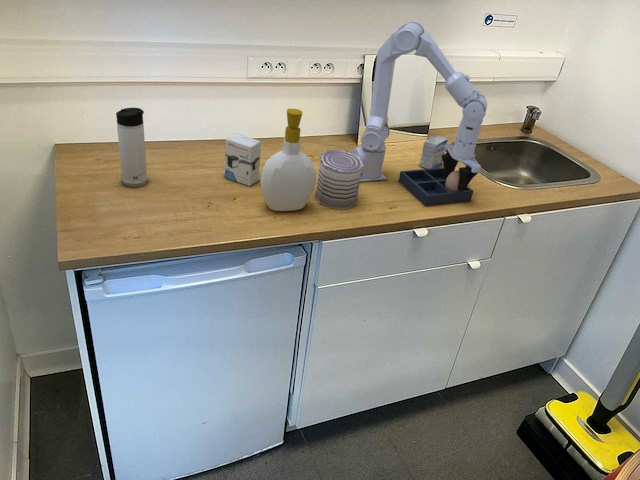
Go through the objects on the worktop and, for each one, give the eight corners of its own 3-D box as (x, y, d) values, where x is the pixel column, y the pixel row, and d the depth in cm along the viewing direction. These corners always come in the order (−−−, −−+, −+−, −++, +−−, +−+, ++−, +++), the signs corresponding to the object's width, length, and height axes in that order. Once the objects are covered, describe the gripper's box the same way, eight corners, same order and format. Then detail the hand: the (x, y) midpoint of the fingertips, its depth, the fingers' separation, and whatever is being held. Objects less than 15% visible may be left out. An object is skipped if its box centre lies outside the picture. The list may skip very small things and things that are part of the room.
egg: (461, 199, 155) (468, 176, 151) (443, 196, 155) (449, 173, 151) (460, 190, 159) (467, 168, 155) (442, 187, 160) (448, 165, 156)
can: (347, 187, 155) (353, 148, 148) (363, 207, 146) (371, 167, 140) (309, 190, 151) (314, 150, 144) (324, 211, 142) (330, 169, 135)
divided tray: (425, 206, 150) (428, 195, 149) (398, 181, 162) (400, 171, 160) (470, 201, 156) (473, 191, 155) (441, 177, 168) (443, 167, 166)
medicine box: (431, 171, 171) (437, 145, 166) (418, 166, 173) (424, 140, 168) (442, 164, 176) (448, 139, 172) (430, 159, 178) (436, 134, 174)
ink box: (223, 177, 152) (224, 138, 145) (234, 171, 155) (235, 132, 149) (249, 186, 149) (251, 146, 142) (259, 180, 152) (261, 141, 146)
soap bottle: (307, 196, 148) (317, 103, 134) (316, 213, 141) (328, 116, 127) (254, 199, 143) (260, 103, 129) (262, 216, 136) (268, 117, 122)
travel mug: (141, 189, 141) (136, 115, 130) (117, 185, 141) (110, 110, 131) (152, 179, 146) (148, 107, 135) (129, 175, 147) (123, 103, 136)
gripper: (494, 150, 145) (480, 195, 152) (463, 129, 155) (451, 172, 163) (473, 151, 142) (460, 197, 149) (442, 130, 153) (431, 173, 160)
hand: (454, 184), depth 156 cm, fingers open, 6 cm apart
